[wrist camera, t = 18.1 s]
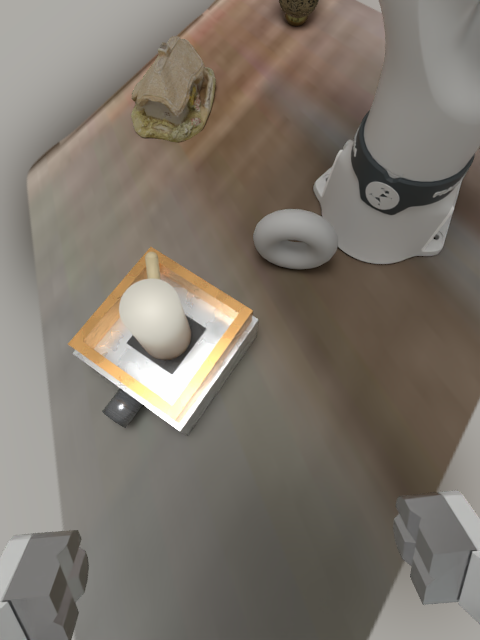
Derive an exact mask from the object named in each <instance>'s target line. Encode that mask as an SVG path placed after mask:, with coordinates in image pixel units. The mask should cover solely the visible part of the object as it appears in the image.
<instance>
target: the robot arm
mask: <svg viewBox="0 0 480 640" xmlns="http://www.w3.org/2000/svg"><path fill="white" fill-rule="evenodd" d="M379 3H380V6H381V11H382V15H383V21H384V28H385V42H386V43H385V57H384V63H383V67H382V71H381V75H380V79H379V83H378V87H377V90H376V94H375V97H374V100H373V103H372V106H371V109H370V111H369V112H368V113H367V114H366V115H365V117H364V118H363V120H362V123H361V124H360V127H359V128H358V130H357V132H356V134H355V136H354V141H351V140H348V141H347V142H346V144H345V145H344V147H343V150H340V151H339V152H338V154H337V156H336V158H335V161H334V164H333V166H332V167H331V168H330V169H329V170H327V171H326V172H325V173H324V174H323V175H322V176H321V177H319V178H318V179H317V180H316V182H315V184H314V187H313V190H314V193H315V195H316V197H317V199H318V200H319V202H320V204H321V209H322V217H323V218H325V219H326V220H327V221H328V222H329V223H330V224H331V225H333V227H334V229H335V231H336V233H337V236H338V247H339V248H340V249H341V250H342V251H344V252H345V253H347V254H348V255H350V256H352V257H354V258H356V259H359V260H361V261H365V262H369V263H375V264H390V263H395V262H399V261H402V260H405V259H407V258H410V257H413V256H433V255H437V254H438V253H439V252H440V251H441V249H442V248H443V245H444V242H445V238H446V235H447V231H448V228H449V225H450V221H451V218H452V214H453V211H454V207H455V204H456V200H457V197H458V193H459V190H460V186H461V183H462V179H463V178H464V176H465V174H466V173H467V171H468V169H469V167H470V166H471V164H472V162H473V159H474V155H475V152H476V151H477V150H478V148H479V147H480V0H379ZM326 181H327V182H326ZM434 237H435V238H436V239H437V240H435V239H434ZM396 508H397V510H398V512H399V514H398V515H397V516H396V517H395V518H394V526H393V530H394V536H395V541H396V544H397V548H398V550H399V553H400V555H401V557H402V559H403V560H404V561H406V562H407V563H408V564H409V565H411V566H412V568H411V574H410V577H411V580H412V582H413V584H414V586H415V588H416V591H417V593H418V595H419V597H420V599H421V601H422V604H423V605H424V604H437V603H449V602H459V603H458V604H459V605H460V606H461V607H462V608H463V609H464V610H465V611H466V612H468V613H469V614H470V615H471V616H472V617H473V618H474V619H475V620H476V621H477V622H478V623H479V624H480V518H479V517H478V515H477V514H476V512H475V511H474V509H473V508H472V507H471V505H470V504H469V502H468V501H467V500H466V498H465V497H464V495H463V494H462V493H461V492H460V491H458V490H454V491H444V492H430V493H422V494H413V495H405V496H399V497H398V499H397V502H396ZM80 542H81V537H80V534H79V532H78V530H72V531H59V532H45V533H33V534H22V535H14V536H13V537H12V538H11V539H10V541H9V542H8V543H7V545H6V547H5V549H4V551H3V553H2V556H1V558H0V640H71V639H72V635H73V632H74V628H75V625H76V621H77V617H78V614H79V612H78V609H77V606H76V604H75V603H76V602H77V600H78V599H79V598H80V597H81V596H82V595H83V594H84V592H85V588H86V584H87V580H88V570H89V564H88V557H87V554H86V551H85V550H83V549H82V548H80V547H79V545H80Z"/></svg>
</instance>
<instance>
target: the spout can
mask: <svg viewBox="0 0 480 640" xmlns="http://www.w3.org/2000/svg"><path fill="white" fill-rule="evenodd" d="M145 262H146V270H147V278H148V279H144V280H140V281H138V282H136V283H134V284H133V285H131V286H130V287H129V288H128V289H127V290H126V291H125V292H124V294H123V296H122V297H121V300H120V304H119V314H120V318H121V320H122V322H123V323H124V325H125V326H126V327H127V328H128V330H129V331H130V332H131V333H132V334H133V336H134V337H135V338H136V339H137V340H138V342H139V343H140V344H141V345H142V347H143V348H144V349H145V350H146V351H147V353H148V354H150V355H151V356H152V357H154V358H157V359H160V360H170V359H174V358H176V357H178V356H180V355H181V354H183V353H184V352H185V350H186V349H187V348H188V346H189V344H190V341H191V329H190V326H189V323H188V321H187V318H186V315H185V313H184V310H183V307H182V304H181V302H180V299H179V296H178V294H177V292H176V290H175V289H174V288H173V287H172V286H171V285H170V284H168V283H167V282H165V281H163V280H161V277H160V269H159V260H158V255H157V254H156V253H155V252H148V253H147V254H146V256H145Z"/></svg>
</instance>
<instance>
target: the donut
mask: <svg viewBox="0 0 480 640" xmlns="http://www.w3.org/2000/svg"><path fill="white" fill-rule="evenodd" d="M253 240H254V244H255V247H256V249H257V251H258V252H259V253H260V255H261V256H262V257H263V258H265V259H266V260H268V261H269V262H271V263H273V264H276V265H278V266H281V267H285V268H290V269H311V268H314V267H318V266H320V265H322V264H324V263H326V262H327V261H329V260H330V259H331V257H332V256H333V255H334V254H335V252H336V250H337V246H338V236H337V233H336V231H335V229H334V227H333V225H331V224H330V223H329V222H328V221H327V220H326V219H325V218H323V217H321V216H319V215H317V214H315V213H313V212H309V211H306V210H301V209H285V210H279V211H276V212H273V213H271V214H269V215H266V216H265V217H264V218H263V219H262V220H261V221H260V222H259V223H258V224H257V226H256V228H255V231H254V234H253ZM288 240H298V241H302V242H292V241H288Z"/></svg>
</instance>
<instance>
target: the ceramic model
mask: <svg viewBox="0 0 480 640" xmlns="http://www.w3.org/2000/svg"><path fill="white" fill-rule="evenodd" d="M158 52H159V55H158V57H157V59H156V60H155V62H154V63H153V64H152V65H151V67H150V68H149V70H148V71H147V72H146V74H145V75H144V76H143V79H142V80H140V82H139V83H138V84H137V85H136V86H135V88H134V90H133V92H132V99H133V101H135V104H136V105H135V107H134V109H133V111H132V115H131V117H132V121H133V124H134V129H135V131H136V132H137V134H138V135H140V136H141V137H144V138H158V139H164V140H168V141H172V142H181V141H185V140H188V139H190V138H192V137H193V136H195V135H196V134H198V133H199V132H200V131H201V130H202V129H203V128H204V126H205V123H206V120H207V118H208V116H209V113H210V110H211V107H212V103H213V99H214V93H215V86H216V84H215V83H216V79H215V76H214V72H213V71H212V69H210V68H208V67H207V68H205V66H204V63H203V61H202V60H201V58H200V57H199V55H198V53H197V52H196V50H195V49H194V47H193V46H192V45H191V44H190V43H189V41H187V40H185V39H180V38H179V37H177V36H172V37H171V38H170V39H169V41H168V43H164V42H163V43H162V44H161V46H160V48H159V49H158Z"/></svg>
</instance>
